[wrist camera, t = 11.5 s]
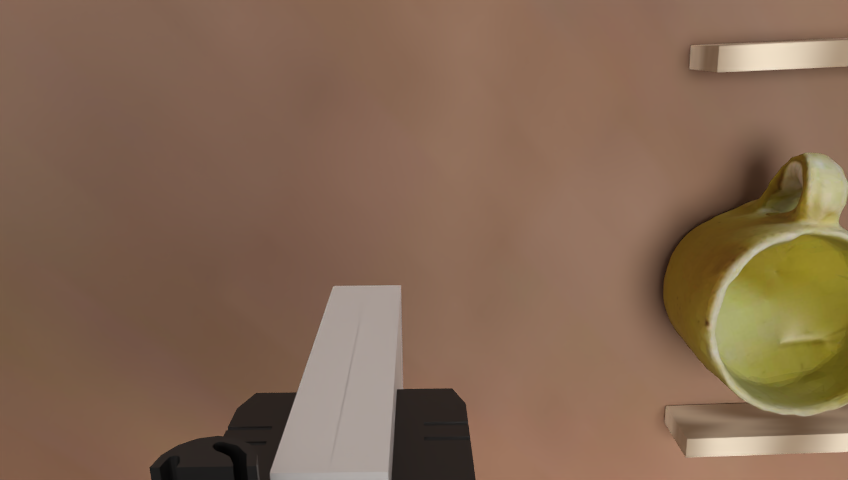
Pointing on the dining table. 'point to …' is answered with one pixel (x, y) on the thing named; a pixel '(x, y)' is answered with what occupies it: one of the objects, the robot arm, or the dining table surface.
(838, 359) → the mug
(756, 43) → the cradle
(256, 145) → the dining table surface
